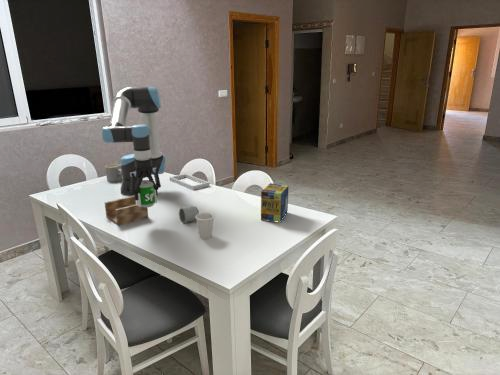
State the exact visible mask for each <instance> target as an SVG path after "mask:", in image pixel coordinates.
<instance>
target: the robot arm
mask: <svg viewBox="0 0 500 375" xmlns="http://www.w3.org/2000/svg"><path fill="white" fill-rule="evenodd" d="M112 98H113V99H112V102H111V104H112V107H113V108H112V111H111V116H110V119H109V120H110V121H109V124H108V126H103V127H102V129H101V136H102V140H103V142H104V143H108V144H109V143H111V144H114V143H115V144H116V143H117V144H118V143H132V145H133V146H132V147H133V153H131V154H126V155H124V156H122V157H121V158H120V165H121V171H122V180H121V186H120V194H122V195H125V196H135V200H136V204H137V206H139V207H141V199H140V193H139V189H140V185H141V182H142V180H144V179H146V178H147V180H150V181H151V182H152V183H153V185H154V196H155V204H156V203H157V202H158V201H157V200H158V199H157V196H158V194H159V193H158V190H159V188H161V187H162V185H161V180H160V176H159V175H164V173H165V169H166V168H165V167H166V166H165V165H166V155H164V153H163V152H162V151H161V150H160V149H161V148H160V138H159V137H160V136H159V126H158V118H157V117H158V116H157V114H158V113H159V111H160V108H162V104H161V103H162V102H161V97H160V93H159V89H158V88H157V87H156V86H155V87H154V86H127V87H125V88H123V89H121V90H119V91H118V92H117V93H116V94H115V95H114V96H113V97H112ZM130 109H137V112H138V113H139V114H140V115H141V124H134V125H132V126H131V125H130V126H129V125H128V126H126V124H127V119H128V114H129V111H130ZM153 177H154V178H153Z"/></svg>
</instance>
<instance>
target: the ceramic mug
mask: <svg viewBox="0 0 500 375" xmlns="http://www.w3.org/2000/svg"><path fill="white" fill-rule="evenodd" d="M198 214H200V211H199V209H198V207H197V206H187V207H186V206H185V207H180V208H179V211H178V216H179V219H180V222H181V223H182V224H186V223H191V222H193V221H194V222H195V221H197V220H196V215H198Z"/></svg>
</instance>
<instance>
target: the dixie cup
mask: <svg viewBox="0 0 500 375" xmlns="http://www.w3.org/2000/svg"><path fill="white" fill-rule="evenodd" d="M214 218H215V214H213V213H211V212H199V214H198V215H196V220H195V221H196V226H197V230H198V235H199V238H200V239H203V240H207V239H211V238H212V236H213V229H214V228H213V226H214Z"/></svg>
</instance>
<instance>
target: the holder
mask: <svg viewBox="0 0 500 375" xmlns="http://www.w3.org/2000/svg"><path fill="white" fill-rule="evenodd" d="M104 208H105V217H106V218H107V219H108V220H110V221H111V222H112V223H114V224H115V225H117V226H122V225H124V224H126V225H127V224H129V223H132V222H136V221H140V220H143V219H147V218H149V210H148V208H149V207H142V206H141V207H139V206H137V200H135V195H129V196H127V197H122V198H117V199H114V200H108V201H105V202H104Z"/></svg>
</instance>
